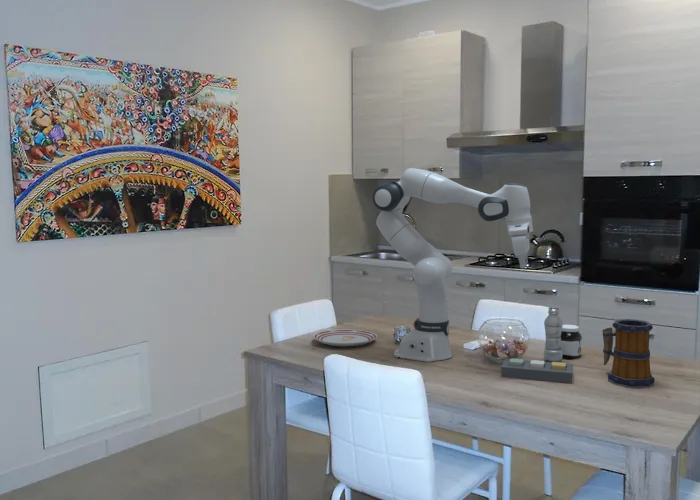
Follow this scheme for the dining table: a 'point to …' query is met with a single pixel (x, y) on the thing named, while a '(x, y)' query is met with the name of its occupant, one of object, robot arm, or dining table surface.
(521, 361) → the sage-green key
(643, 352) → the mug
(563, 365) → the ochre key
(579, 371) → the dining table surface
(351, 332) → the dinner plate
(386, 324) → the dining table surface
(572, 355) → the spread jar
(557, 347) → the plastic bottle
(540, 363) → the cream key
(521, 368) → the keypad
